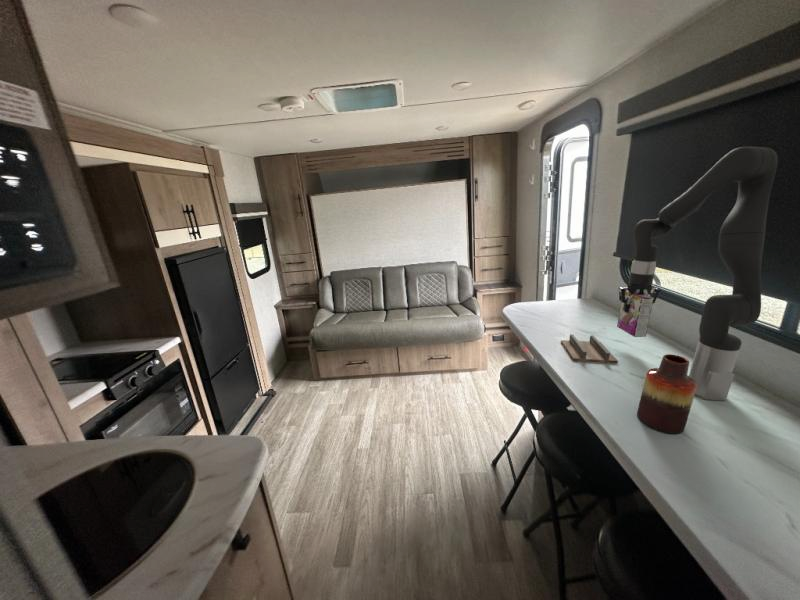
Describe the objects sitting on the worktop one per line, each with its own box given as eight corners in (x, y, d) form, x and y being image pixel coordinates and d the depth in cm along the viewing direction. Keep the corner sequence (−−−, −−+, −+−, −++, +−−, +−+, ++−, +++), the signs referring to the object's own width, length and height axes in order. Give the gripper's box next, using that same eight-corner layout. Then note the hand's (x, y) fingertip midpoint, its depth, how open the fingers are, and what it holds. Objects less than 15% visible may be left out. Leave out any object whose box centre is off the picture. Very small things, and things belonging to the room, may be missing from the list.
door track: (600, 344, 139) (601, 335, 138) (617, 363, 124) (619, 353, 122) (560, 342, 142) (562, 334, 141) (572, 360, 127) (574, 351, 125)
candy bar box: (615, 326, 137) (622, 290, 132) (627, 326, 137) (634, 290, 132) (633, 337, 126) (641, 297, 122) (646, 337, 126) (655, 297, 122)
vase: (636, 405, 99) (650, 346, 93) (682, 418, 93) (699, 355, 87) (636, 425, 91) (651, 361, 85) (686, 440, 85) (706, 373, 79)
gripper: (626, 273, 122) (619, 315, 127) (669, 274, 120) (659, 316, 124) (617, 269, 129) (610, 309, 134) (657, 270, 127) (649, 310, 131)
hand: (634, 312), depth 129 cm, fingers closed on candy bar box, 5 cm apart
